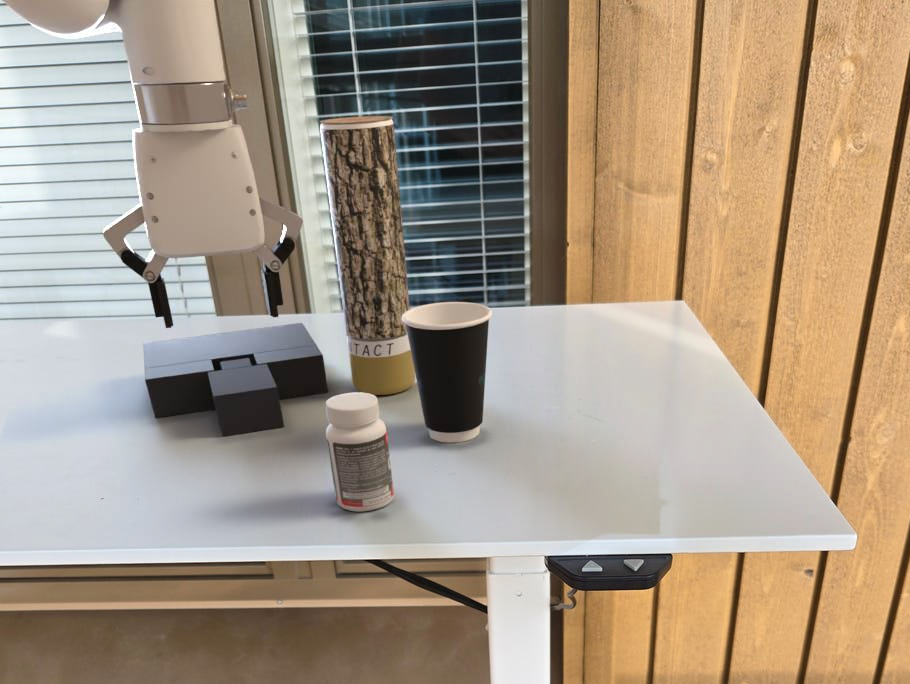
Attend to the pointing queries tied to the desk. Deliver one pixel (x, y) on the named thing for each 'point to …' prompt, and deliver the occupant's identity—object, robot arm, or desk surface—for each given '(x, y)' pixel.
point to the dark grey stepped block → (245, 397)
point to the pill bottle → (358, 452)
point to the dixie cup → (450, 366)
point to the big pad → (190, 359)
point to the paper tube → (369, 249)
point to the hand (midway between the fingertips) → (221, 319)
